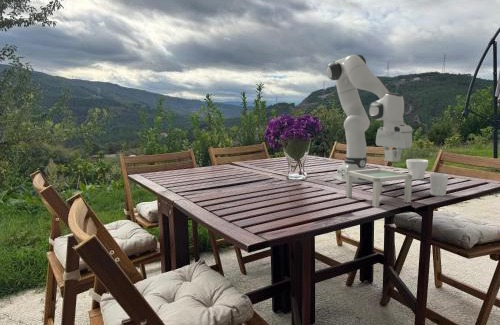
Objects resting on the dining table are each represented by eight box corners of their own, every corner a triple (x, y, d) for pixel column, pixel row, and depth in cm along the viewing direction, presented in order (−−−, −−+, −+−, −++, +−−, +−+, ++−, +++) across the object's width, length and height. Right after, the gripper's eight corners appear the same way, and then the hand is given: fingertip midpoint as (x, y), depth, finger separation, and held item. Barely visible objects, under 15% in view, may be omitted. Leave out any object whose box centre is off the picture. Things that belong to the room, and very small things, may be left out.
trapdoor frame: (345, 196, 182) (346, 171, 180) (378, 193, 190) (379, 168, 188) (375, 207, 163) (376, 178, 161) (410, 202, 170) (412, 175, 169)
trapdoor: (356, 179, 179) (356, 172, 178) (379, 177, 184) (379, 170, 184) (376, 184, 166) (376, 177, 166) (400, 182, 171) (401, 175, 171)
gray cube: (384, 160, 181) (384, 150, 180) (392, 159, 182) (393, 149, 182) (392, 161, 176) (392, 151, 175) (400, 160, 178) (400, 150, 177)
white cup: (439, 197, 180) (441, 176, 179) (425, 193, 187) (426, 174, 186) (450, 195, 184) (451, 175, 182) (436, 192, 191) (437, 172, 189)
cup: (428, 177, 230) (429, 159, 228) (425, 180, 220) (427, 162, 218) (407, 175, 237) (408, 158, 235) (403, 179, 226) (404, 160, 225)
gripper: (372, 127, 185) (372, 155, 187) (404, 128, 167) (403, 159, 169) (383, 126, 188) (382, 154, 190) (415, 128, 169) (413, 158, 171)
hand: (392, 156), depth 179 cm, fingers closed on gray cube, 5 cm apart
